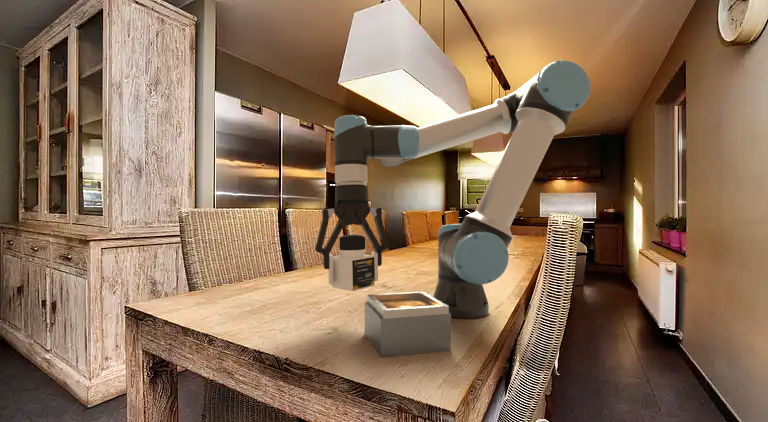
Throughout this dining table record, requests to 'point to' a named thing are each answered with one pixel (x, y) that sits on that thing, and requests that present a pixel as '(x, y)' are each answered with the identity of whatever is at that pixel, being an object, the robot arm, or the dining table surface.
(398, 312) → the grey box
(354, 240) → the medicine bottle
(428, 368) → the dining table surface
